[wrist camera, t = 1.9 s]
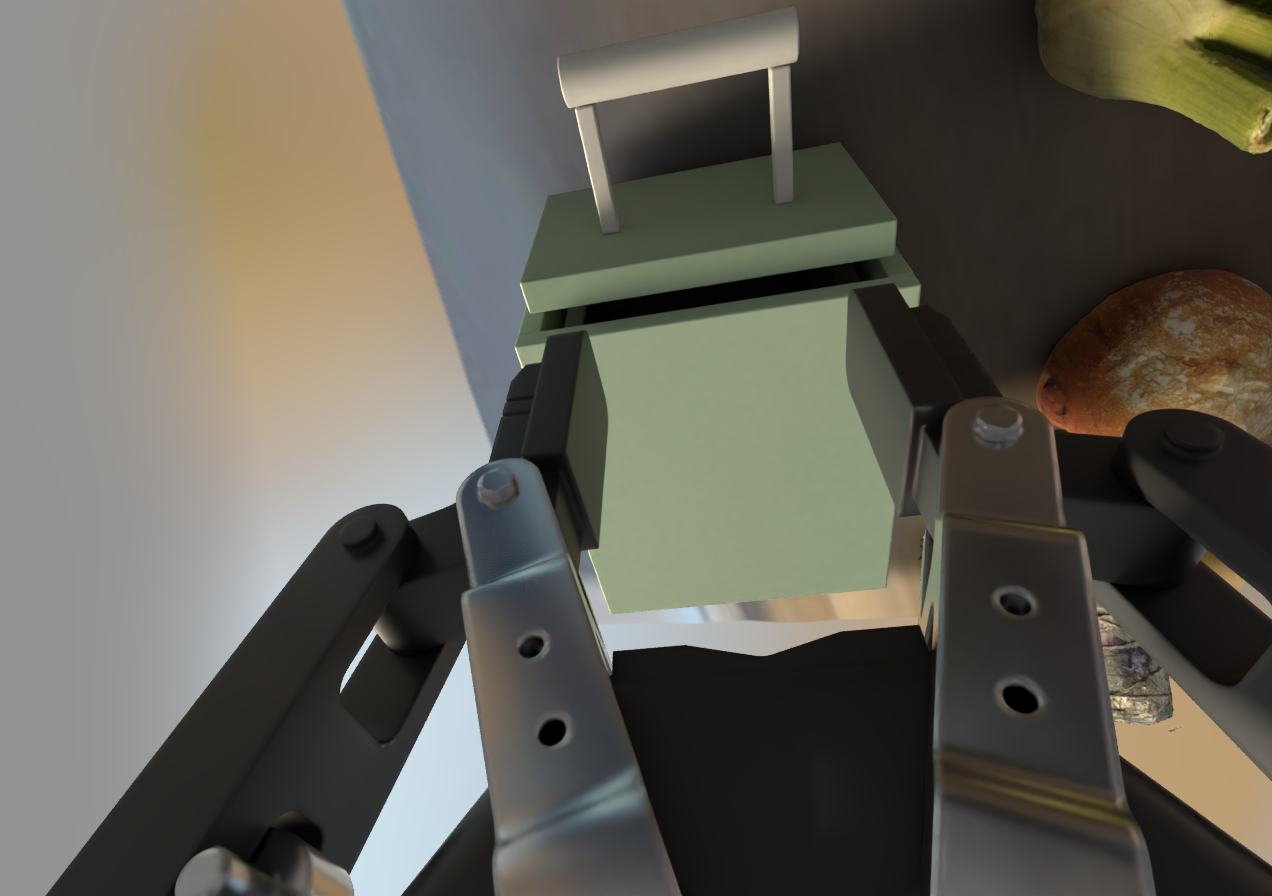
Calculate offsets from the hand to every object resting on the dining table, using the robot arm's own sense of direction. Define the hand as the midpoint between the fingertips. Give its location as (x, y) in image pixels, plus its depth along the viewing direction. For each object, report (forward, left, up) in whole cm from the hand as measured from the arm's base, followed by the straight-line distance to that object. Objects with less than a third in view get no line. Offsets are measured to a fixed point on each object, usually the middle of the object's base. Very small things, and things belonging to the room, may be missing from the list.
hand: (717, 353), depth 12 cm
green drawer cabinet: (+11, 0, -17) cm, 21 cm away
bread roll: (+15, +21, -18) cm, 31 cm away
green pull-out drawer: (+6, 0, -16) cm, 18 cm away
